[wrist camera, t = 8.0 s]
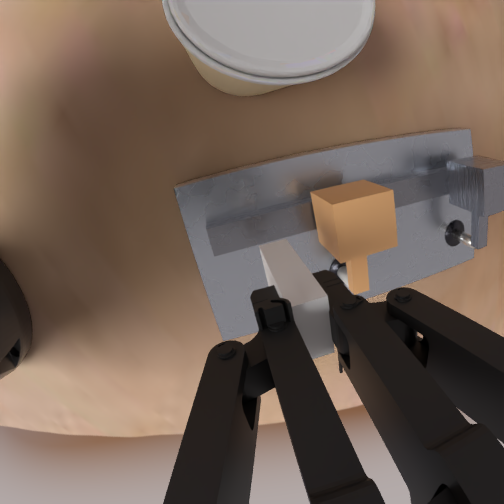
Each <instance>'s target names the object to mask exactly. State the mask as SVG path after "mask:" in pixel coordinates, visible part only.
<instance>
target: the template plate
mask: <svg viewBox="0 0 504 504" xmlns="http://www.w3.org/2000/svg"><path fill="white" fill-rule="evenodd" d="M363 179H364V180H367V181H369V182H372V183H375V184H378V185H381V186H384V187H387V188H389V189H392V190H393V193H394V203H395V213H396V226H397V241H398V246H396V247H393V248H390V249H387V250H384V251H380V252H377V253H374V254H371V255H367V264H368V276H369V290H368V291H365V292H362V293H359V294H356V295H359V296H362V297H363V298H365V299H367V298H370V297H373V296H376V295H379V294H382V293H385V292H387V291H390V290H393V289H396V288H398V287H401V286H404V285H407V284H409V283H412V282H415V281H417V280H420V279H423V278H425V277H428V276H430V275H433V274H436V273H438V272H441V271H443V270H446V269H448V268H451V267H453V266H456V265H458V264H461V263H463V262H465V261H468V260H470V259H472V258H474V249H480V248H483V247H485V246H487V231H488V216H490V215H493V214H496V213H499V212H501V211H504V161H500V160H496V159H491V158H486V157H481V156H473V149H472V139H471V130H470V129H463V128H452V129H442V130H434V131H426V132H418V133H411V134H404V135H397V136H390V137H384V138H378V139H372V140H366V141H360V142H354V143H349V144H343V145H338V146H333V147H327V148H322V149H317V150H313V151H308V152H303V153H298V154H294V155H289V156H285V157H280V158H276V159H271V160H267V161H263V162H259V163H255V164H251V165H247V166H243V167H239V168H235V169H231V170H227V171H223V172H219V173H216V174H212V175H208V176H205V177H201V178H197V179H194V180H190V181H187V182H183V183H180V184H177V185H176V186H175V188H174V191H175V195H176V198H177V201H178V205H179V208H180V211H181V215H182V218H183V221H184V225H185V228H186V231H187V234H188V237H189V241H190V244H191V247H192V250H193V253H194V256H195V259H196V263H197V266H198V269H199V272H200V275H201V278H202V281H203V284H204V287H205V290H206V293H207V296H208V299H209V301H210V304H211V307H212V310H213V313H214V316H215V319H216V322H217V324H218V327H219V330H220V333H221V336H222V338H223V341H225V340H229V339H233V338H237V337H241V336H245V335H248V334H252V333H256V332H258V331H259V328H258V324H257V321H256V317H255V313H254V310H253V306H252V302H251V299H250V296H251V294H252V292H253V291H254V290H258V289H261V288H265V287H268V282H267V278H266V274H265V269H264V265H263V261H262V257H261V253H260V248H259V246H260V245H264V244H268V243H271V242H275V241H279V240H283V239H286V240H287V241H288V242H289V244H290V245H291V246H292V248H293V249H294V250H295V252H296V253H297V254H298V256H299V257H300V258H301V260H302V261H303V263H304V264H305V265H306V267H307V268H308V269H309V271H310V272H311V273H315V272H319V271H322V270H328V271H331V272H333V273H334V274H335V275H336V276H337V277H338V279H340V277H339V276H338V274H337V272H338V269H339V268H340V267H342V266H346V262H344V263H340V262H339V261H338V260H337V259H336V258H335V257H334V256H333V255H332V254H331V253H330V252H329V251H328V250H327V249H326V248H325V247H324V246H323V245H322V244H321V243H320V242H319V238H318V232H317V227H316V221H315V215H314V210H313V204H312V199H311V193H310V192H311V191H316V190H320V189H324V188H328V187H333V186H337V185H341V184H346V183H350V182H354V181H359V180H363ZM346 267H347V266H346ZM340 280H341V279H340ZM341 282H342V283H343V284H344V285H345V286H346V287H347V285H346V284H345V283H344V282H343V281H342V280H341ZM347 289H348V290H349V291H350V292H351V290H350V289H349V288H348V287H347ZM351 293H352V292H351ZM352 294H353V293H352ZM353 295H354V294H353Z"/></svg>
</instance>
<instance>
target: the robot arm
mask: <svg viewBox="0 0 504 504" xmlns="http://www.w3.org/2000/svg"><path fill="white" fill-rule="evenodd" d="M259 248H260V253H261V257H262V261H263V265H264V269H265V274H266V278H267V282H268V287H265V288H261V289H258V290H254V291H253V292H252V294H251V296H250V299H251V302H252V306H253V310H254V313H255V317H256V321H257V324H258V328H259V331H258V334H257V335H256V336H255V337H254V338H253V339H252V340H251V341H249V342H248V343H246V344H244V345H243V344H242V343H241V342H238V341H225V342H222V343H219V344H217V345H216V346H214V347H213V348H212V349H211V350H210V352H209V354H208V357H207V360H206V364H205V367H204V370H203V373H202V377H201V380H200V383H199V386H198V390H197V393H196V396H195V399H194V403H193V406H192V409H191V412H190V416H189V419H188V422H187V426H186V429H185V432H184V435H183V439H182V442H181V446H180V449H179V452H178V456H177V459H176V462H175V465H174V469H173V472H172V476H171V479H170V482H169V486H168V489H167V492H166V496H165V499H164V503H163V504H249V498H250V490H251V482H252V474H253V465H254V457H255V448H256V439H257V430H258V421H259V412H260V403H261V397H260V395H262V394H264V393H266V392H267V391H269V390H271V389H273V388H276V392H277V395H278V398H279V402H280V405H281V409H282V412H283V415H284V419H285V422H286V426H287V429H288V432H289V436H290V439H291V442H292V446H293V449H294V452H295V456H296V459H297V462H298V465H299V469H300V472H301V476H302V479H303V482H304V486H305V489H306V492H307V495H308V498H309V501H310V504H385V502H384V500H383V498H382V496H381V494H380V491H379V489H378V488H377V486H376V484H375V482H374V481H373V480H372V479H370V478H368V477H367V476H366V474H365V472H364V470H363V468H362V465H361V463H360V461H359V459H358V457H357V454H356V452H355V450H354V448H353V446H352V444H351V442H350V439H349V437H348V435H347V433H346V431H345V428H344V426H343V424H342V422H341V420H340V418H339V415H338V413H337V411H336V409H335V407H334V405H333V402H332V400H331V398H330V396H329V394H328V392H327V390H326V387H325V385H324V383H323V381H322V379H321V377H320V374H319V372H318V370H317V368H316V366H315V364H314V362H313V360H312V359H315V358H318V357H321V356H324V355H327V354H330V353H334V344H335V346H336V347H337V350H338V361H339V370H340V373H342V372H343V370H342V368H344V370H345V372H346V373H347V375H348V377H349V379H350V381H351V383H352V384H353V386H354V388H355V390H356V392H357V393H358V395H359V397H360V399H361V401H362V403H363V404H364V406H365V408H366V410H367V412H368V413H369V415H370V417H371V419H372V421H373V423H374V425H375V426H376V428H377V430H378V432H379V434H380V436H381V437H382V439H383V441H384V443H385V445H386V447H387V449H388V450H389V453H390V454H391V456H392V458H393V460H394V462H395V464H396V466H397V468H398V470H399V471H400V473H401V475H402V477H403V479H404V481H405V483H406V485H407V487H408V489H409V491H410V497H411V504H504V448H503V446H502V445H501V443H500V442H499V441H498V440H497V439H499V440H500V441H502V442H503V443H504V337H502V336H500V335H498V334H497V333H495V332H493V331H491V330H489V329H488V328H486V327H484V326H482V325H480V324H478V323H477V322H475V321H473V320H471V319H469V318H467V317H465V316H464V315H462V314H460V313H458V312H456V311H454V310H452V309H451V308H449V307H447V306H445V305H443V304H441V303H439V302H437V301H435V300H433V299H432V298H430V297H428V296H426V295H424V294H422V293H420V292H418V291H416V290H414V289H411V288H404V287H402V288H396V289H394V290H391V291H390V292H389V293H388V294H387V297H386V301H384V302H376V303H369V302H368V301H367V300H366V299H365V298H363V297H362V296H359V295H353V294H352V293H351V292H350V291H349V290H348V289H347V287H346V286H345V285H344V284H343V283H342V282H341V280H340V279H338V277H337V276H336V275H335V274H334V273H333V272H331V271H328V270H322V271H319V272H315V273H311V272H310V271H309V269H308V268H307V267H306V265H305V264H304V263H303V261H302V260H301V258H300V257H299V256H298V254H297V253H296V252H295V250H294V249H293V248H292V246H291V245H290V244H289V242H288V241H287V240H286V239H283V240H279V241H275V242H271V243H268V244H264V245H260V246H259ZM417 332H419V333H420V334H422V335H423V338H420V337H419V336H417ZM31 340H32V324H31V317H30V313H29V310H28V306H27V304H26V301H25V298H24V296H23V294H22V291H21V290H20V288H19V286H18V284H17V282H16V280H15V279H14V277H13V276H12V274H11V273H10V271H9V270H8V268H7V267H6V266H5V265H4V263H3V262H2V261H1V260H0V379H2V378H3V377H5V376H6V375H8V374H9V373H11V372H12V371H14V370H15V369H16V368H17V367H18V366H19V364H20V363H21V361H22V360H23V358H24V357H25V355H26V354H27V352H28V350H29V348H30V345H31ZM333 342H334V343H333ZM456 407H457V408H458V409H460V410H461V411H462V412H464V413H465V414H466V415H467V416H469V417H470V418H471V419H473V420H474V421H475V422H477V424H473V425H472V424H470V423H469V422H468V421H467V420H466V419H465V418H464V416H463V415H462V414H461V413H460V411H459V410H458V409H457V408H456Z"/></svg>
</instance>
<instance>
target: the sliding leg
mask: <svg viewBox="0 0 504 504" xmlns="http://www.w3.org/2000/svg"><path fill="white" fill-rule="evenodd" d="M310 193H311V199H312V204H313V210H314V215H315V221H316V227H317V232H318V238H319V242H320V243H321V244H322V245H323V246H324V247H325V248H326V249H327V250H328V251H329V252H330V253H331V254H332V255H333V256H334V257H335V258H336V259H337V260H338V261H339V262H340V263H344V262H346V266H347V267H346V266H342V267H340V268H339V269H338V272H337V274H338V276H339V277H340V279H341V280H342V281H343V282H344V283H345V284H346V285H347V287H348V288H349V289H350V290H351V292H352V293H353V294H354V295H356V294H359V293H362V292H365V291H368V290H369V276H368V264H367V255H371V254H374V253H377V252H380V251H384V250H387V249H390V248H393V247H396V246H398V241H397V226H396V213H395V203H394V193H393V190H392V189H389V188H387V187H384V186H381V185H378V184H375V183H372V182H369V181H367V180H364V179H363V180H359V181H354V182H350V183H346V184H341V185H337V186H333V187H328V188H324V189H320V190H316V191H311V192H310Z"/></svg>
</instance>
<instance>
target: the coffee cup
mask: <svg viewBox="0 0 504 504" xmlns="http://www.w3.org/2000/svg"><path fill="white" fill-rule="evenodd" d="M162 4H163V10H164V13H165V16H166V19H167V21H168V24H169V26H170V28H171V29H172V31H173V32H174V34H175V36H176V37H177V38H178V40H179V41H180V42H181V43H182V45H183V46H184V48H185V50H186V52H187V53H188V55H189V57H190V59H191V60H192V62H193V64H194V66H195V67H196V69H197V71H198V72H199V73H200V75H201V76H202V77H203V78H204V79H205V80H206V82H208V83H209V84H210V85H211V86H213V87H215V88H216V89H218V90H220V91H222V92H225V93H227V94H231V95H235V96H255V95H260V94H265V93H268V92H271V91H274V90H278V89H281V88H284V87H287V86H290V85H295V84H302V83H307V82H311V81H315V80H318V79H321V78H324V77H327V76H329V75H331V74H333V73H335V72H337V71H338V70H340V69H341V68H343V67H345V66H346V65H347V64H348V63H349V62H351V61H352V60H353V59H354V58H355V57H356V56H357V55H358V54H359V53H360V51H361V50H362V49H363V47H364V46H365V44H366V42H367V40H368V38H369V36H370V34H371V31H372V27H373V23H374V16H375V0H162Z"/></svg>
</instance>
